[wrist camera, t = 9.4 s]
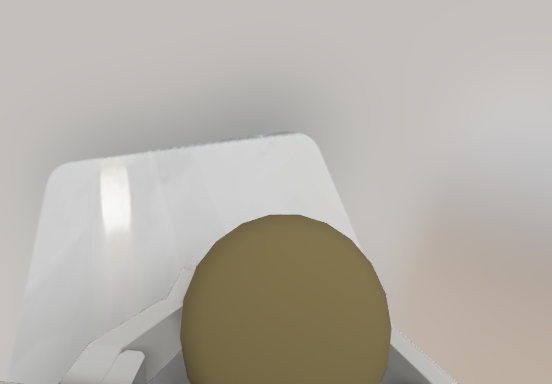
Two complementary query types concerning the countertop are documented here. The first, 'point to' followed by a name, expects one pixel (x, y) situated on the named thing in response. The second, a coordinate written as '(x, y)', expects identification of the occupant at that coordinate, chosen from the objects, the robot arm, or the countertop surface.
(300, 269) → the cork
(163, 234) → the countertop surface
